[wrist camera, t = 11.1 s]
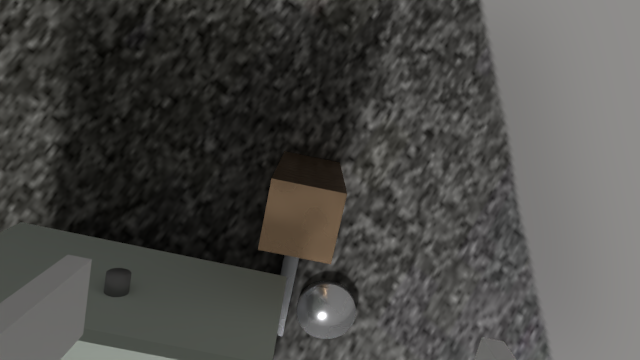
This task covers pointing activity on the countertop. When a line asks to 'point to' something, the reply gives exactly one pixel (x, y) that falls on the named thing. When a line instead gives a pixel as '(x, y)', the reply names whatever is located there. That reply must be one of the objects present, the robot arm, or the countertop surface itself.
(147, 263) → the cabinet
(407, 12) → the countertop surface
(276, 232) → the block
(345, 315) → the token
